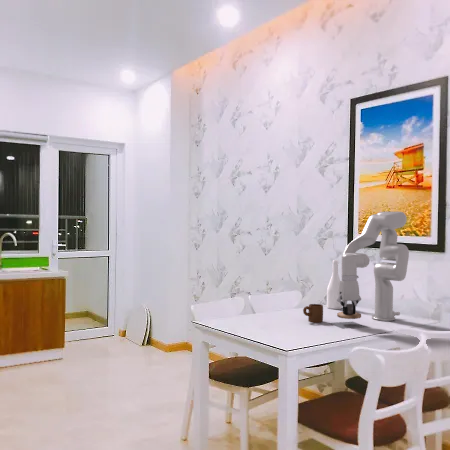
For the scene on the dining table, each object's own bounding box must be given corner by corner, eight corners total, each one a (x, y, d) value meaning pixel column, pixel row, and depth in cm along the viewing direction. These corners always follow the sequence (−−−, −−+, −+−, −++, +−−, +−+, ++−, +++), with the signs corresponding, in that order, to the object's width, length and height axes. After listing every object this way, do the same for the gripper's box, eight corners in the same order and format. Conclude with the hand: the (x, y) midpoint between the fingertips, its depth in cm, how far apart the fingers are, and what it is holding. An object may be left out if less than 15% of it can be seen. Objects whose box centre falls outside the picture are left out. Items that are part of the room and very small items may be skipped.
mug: (307, 325, 257) (308, 307, 256) (298, 322, 263) (299, 304, 263) (325, 323, 262) (326, 305, 262) (316, 320, 269) (316, 303, 269)
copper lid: (352, 313, 264) (352, 301, 264) (365, 317, 253) (365, 305, 252) (332, 314, 260) (332, 303, 260) (345, 319, 249) (345, 307, 249)
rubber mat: (352, 323, 265) (352, 321, 265) (368, 328, 251) (368, 327, 251) (327, 324, 260) (328, 322, 260) (342, 330, 247) (342, 328, 247)
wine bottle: (345, 308, 309) (346, 260, 309) (334, 309, 304) (335, 260, 304) (334, 306, 317) (335, 259, 317) (323, 307, 313) (324, 259, 312)
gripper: (359, 276, 262) (359, 311, 262) (331, 278, 257) (331, 313, 257) (367, 278, 255) (367, 314, 255) (338, 280, 250) (338, 316, 250)
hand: (349, 313), depth 256 cm, fingers closed on copper lid, 4 cm apart
